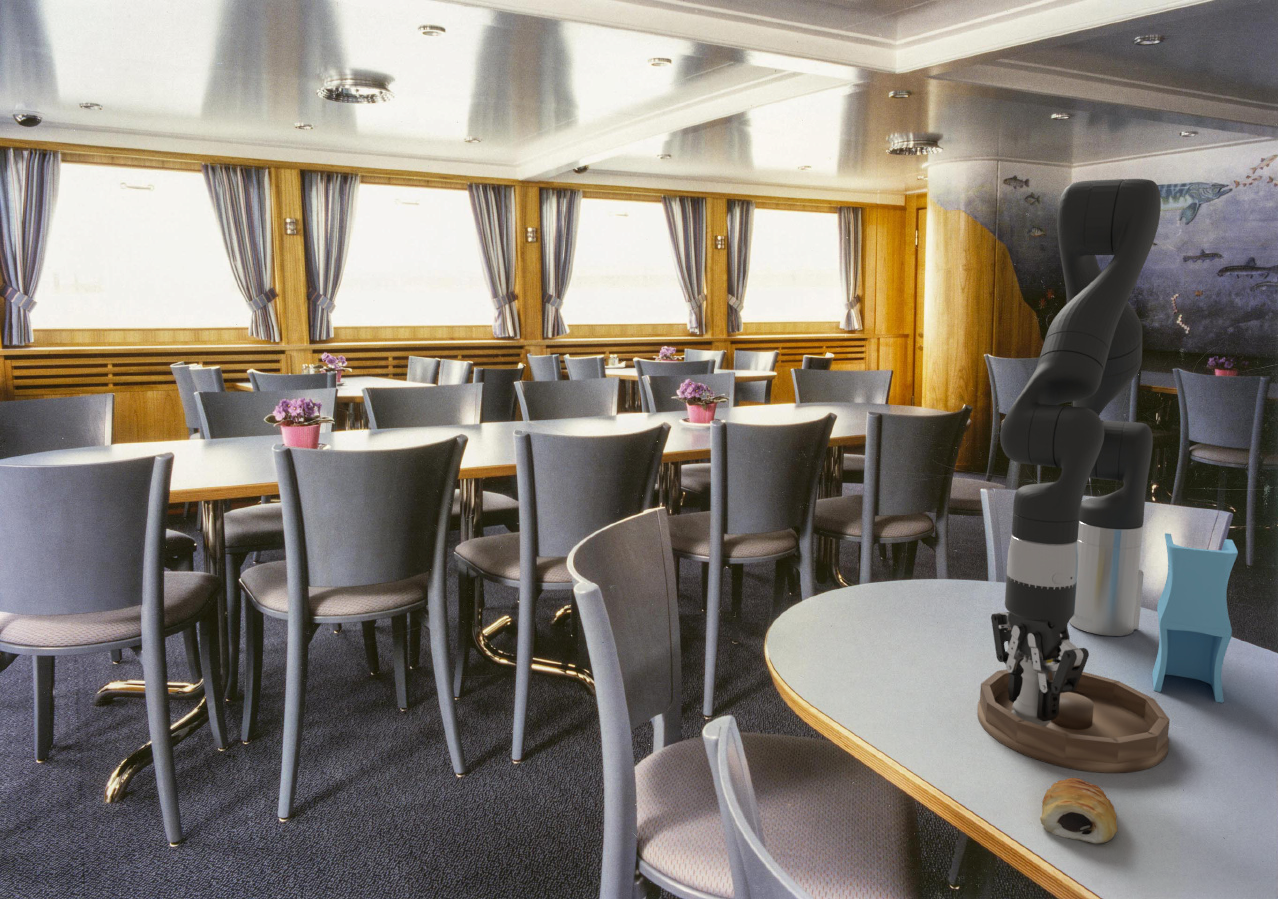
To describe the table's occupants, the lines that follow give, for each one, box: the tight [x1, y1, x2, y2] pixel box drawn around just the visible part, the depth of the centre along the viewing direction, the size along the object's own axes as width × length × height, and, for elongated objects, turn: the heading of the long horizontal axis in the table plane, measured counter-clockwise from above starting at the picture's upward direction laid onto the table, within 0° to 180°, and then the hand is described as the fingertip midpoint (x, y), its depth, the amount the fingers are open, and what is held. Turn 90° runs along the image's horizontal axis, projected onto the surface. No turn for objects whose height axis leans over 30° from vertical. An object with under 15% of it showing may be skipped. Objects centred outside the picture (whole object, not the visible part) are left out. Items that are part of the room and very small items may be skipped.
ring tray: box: [977, 669, 1171, 774], centre depth 106 cm, size 21×21×4 cm
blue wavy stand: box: [1151, 532, 1239, 703], centre depth 116 cm, size 8×8×20 cm
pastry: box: [1039, 777, 1119, 844], centre depth 88 cm, size 9×7×4 cm
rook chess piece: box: [1012, 654, 1051, 727], centre depth 104 cm, size 4×4×8 cm
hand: (1031, 709), depth 105 cm, fingers closed on rook chess piece, 4 cm apart
